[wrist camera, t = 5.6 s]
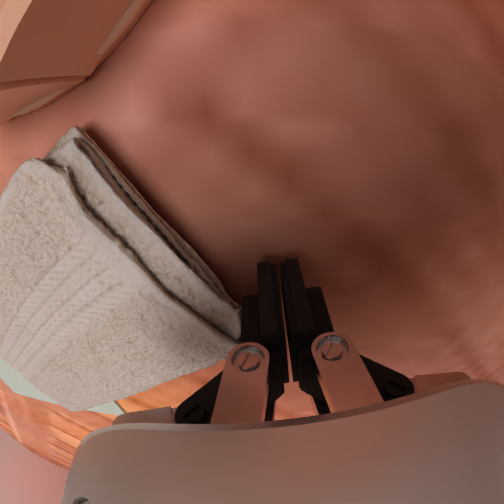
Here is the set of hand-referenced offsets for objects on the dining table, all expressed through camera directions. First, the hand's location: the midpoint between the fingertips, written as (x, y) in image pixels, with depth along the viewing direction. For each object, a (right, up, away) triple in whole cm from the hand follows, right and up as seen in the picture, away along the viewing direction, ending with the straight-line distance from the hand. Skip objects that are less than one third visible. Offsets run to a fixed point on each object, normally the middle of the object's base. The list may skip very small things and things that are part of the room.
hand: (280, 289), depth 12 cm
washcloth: (-11, -1, +2) cm, 12 cm away
